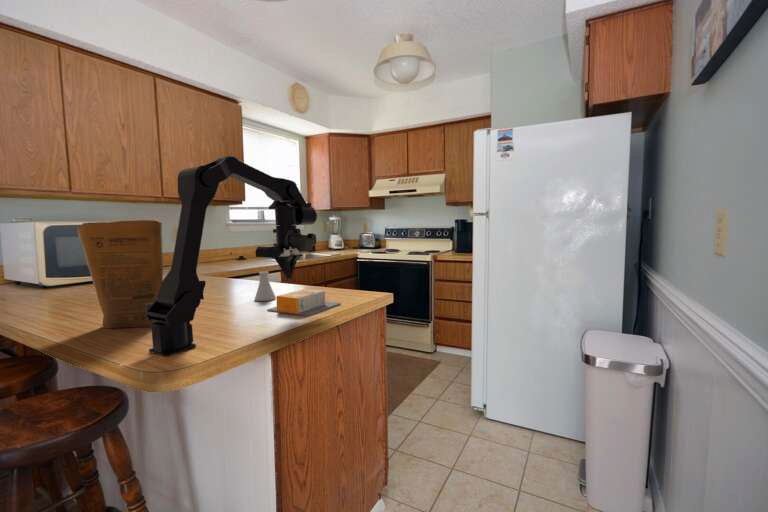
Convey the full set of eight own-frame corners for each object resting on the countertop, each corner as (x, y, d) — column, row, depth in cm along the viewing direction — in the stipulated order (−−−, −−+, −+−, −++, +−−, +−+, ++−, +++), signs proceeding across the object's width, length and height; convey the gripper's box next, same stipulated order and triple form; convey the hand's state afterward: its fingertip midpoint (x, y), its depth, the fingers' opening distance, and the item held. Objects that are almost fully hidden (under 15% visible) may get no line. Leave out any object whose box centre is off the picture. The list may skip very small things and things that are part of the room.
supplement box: (275, 295, 102) (305, 288, 113) (276, 311, 102) (305, 302, 114) (297, 297, 98) (325, 290, 110) (297, 314, 98) (325, 304, 110)
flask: (260, 297, 127) (259, 270, 126) (279, 297, 126) (277, 270, 125) (250, 301, 120) (248, 273, 119) (270, 302, 119) (268, 273, 118)
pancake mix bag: (162, 328, 89) (154, 219, 87) (84, 331, 88) (73, 221, 86) (176, 321, 96) (168, 220, 94) (103, 324, 95) (94, 222, 92)
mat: (307, 316, 98) (307, 314, 98) (267, 310, 106) (267, 309, 105) (340, 304, 112) (340, 303, 112) (303, 300, 119) (302, 299, 119)
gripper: (282, 225, 87) (286, 286, 89) (328, 224, 104) (330, 275, 105) (252, 226, 93) (256, 283, 94) (300, 225, 109) (302, 273, 111)
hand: (289, 278), depth 101 cm, fingers closed
